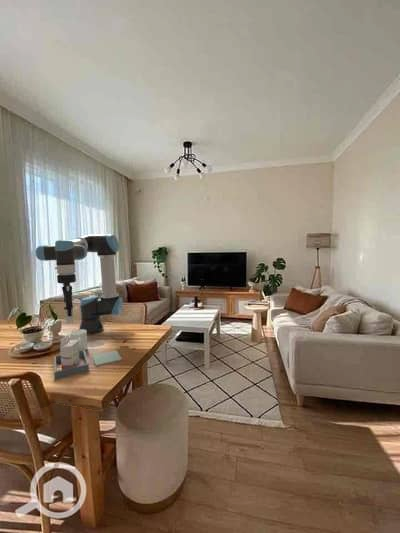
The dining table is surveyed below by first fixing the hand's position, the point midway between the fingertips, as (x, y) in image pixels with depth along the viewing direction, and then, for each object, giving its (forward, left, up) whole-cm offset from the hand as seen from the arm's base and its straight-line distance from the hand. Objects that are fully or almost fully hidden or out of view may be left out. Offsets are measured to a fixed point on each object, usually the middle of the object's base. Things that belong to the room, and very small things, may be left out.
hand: (69, 319), depth 115 cm
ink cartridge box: (0, 0, -23) cm, 23 cm away
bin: (0, 0, -23) cm, 23 cm away
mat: (0, +16, -23) cm, 28 cm away
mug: (-18, +5, -23) cm, 30 cm away
